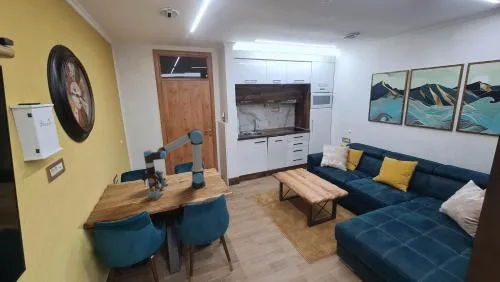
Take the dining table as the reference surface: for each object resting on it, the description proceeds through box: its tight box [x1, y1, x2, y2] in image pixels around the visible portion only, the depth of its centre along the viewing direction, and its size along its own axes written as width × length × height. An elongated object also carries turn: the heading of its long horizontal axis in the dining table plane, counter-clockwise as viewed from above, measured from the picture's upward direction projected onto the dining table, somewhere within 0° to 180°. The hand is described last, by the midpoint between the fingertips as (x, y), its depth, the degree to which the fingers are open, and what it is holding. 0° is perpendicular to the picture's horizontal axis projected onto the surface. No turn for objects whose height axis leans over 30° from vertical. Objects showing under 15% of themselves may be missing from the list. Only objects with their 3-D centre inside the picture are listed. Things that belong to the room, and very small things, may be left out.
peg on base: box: [144, 187, 164, 201], centre depth 213 cm, size 12×12×11 cm
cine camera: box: [147, 170, 169, 191], centre depth 231 cm, size 9×19×20 cm, turn 78°
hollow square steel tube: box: [147, 188, 161, 198], centre depth 214 cm, size 8×8×7 cm
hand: (153, 186), depth 212 cm, fingers open, 13 cm apart
